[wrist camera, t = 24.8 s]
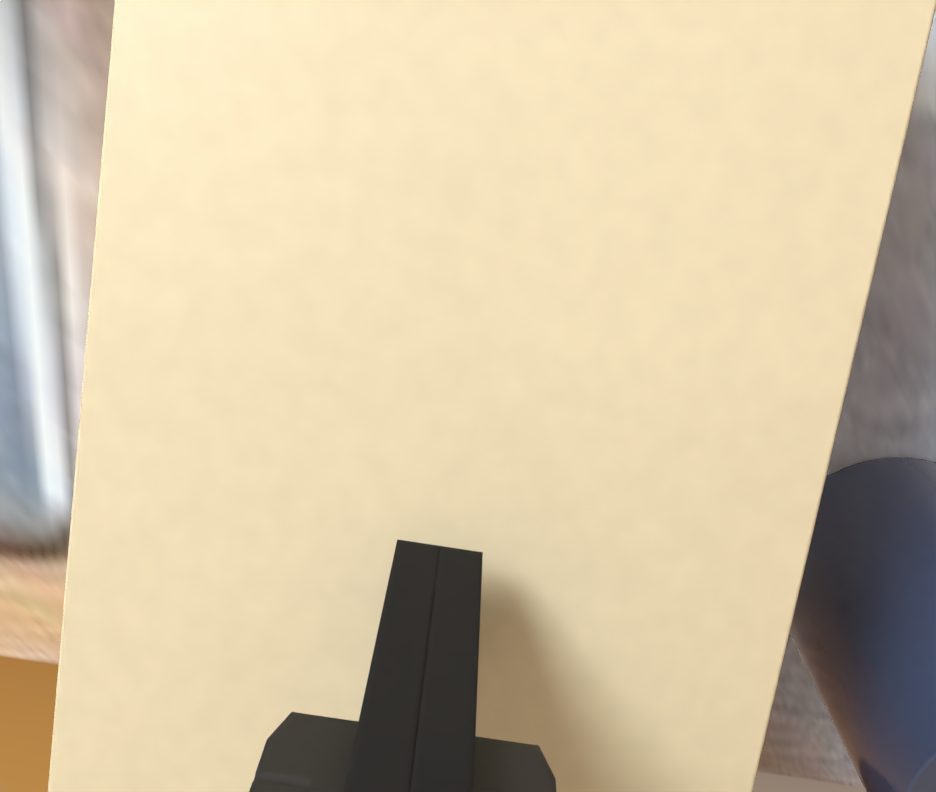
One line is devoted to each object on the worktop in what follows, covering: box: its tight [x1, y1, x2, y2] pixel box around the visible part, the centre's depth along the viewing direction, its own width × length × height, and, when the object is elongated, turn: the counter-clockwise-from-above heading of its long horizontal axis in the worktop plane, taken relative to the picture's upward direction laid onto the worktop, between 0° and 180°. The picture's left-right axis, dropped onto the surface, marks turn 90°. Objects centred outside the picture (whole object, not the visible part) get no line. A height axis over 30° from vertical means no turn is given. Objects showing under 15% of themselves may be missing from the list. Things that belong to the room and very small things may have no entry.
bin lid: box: [48, 0, 936, 792], centre depth 14 cm, size 20×14×1 cm, turn 172°
